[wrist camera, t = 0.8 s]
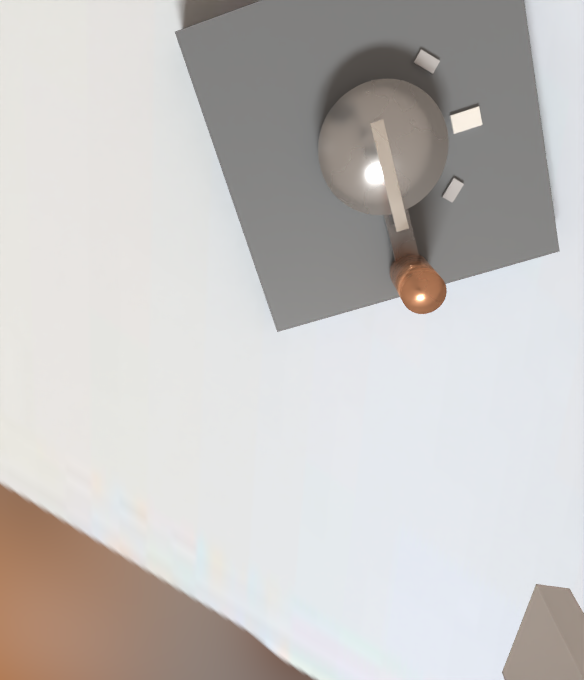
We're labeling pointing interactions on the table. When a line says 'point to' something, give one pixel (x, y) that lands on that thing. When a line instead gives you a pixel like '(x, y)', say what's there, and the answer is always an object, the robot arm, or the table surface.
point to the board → (311, 110)
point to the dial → (389, 171)
